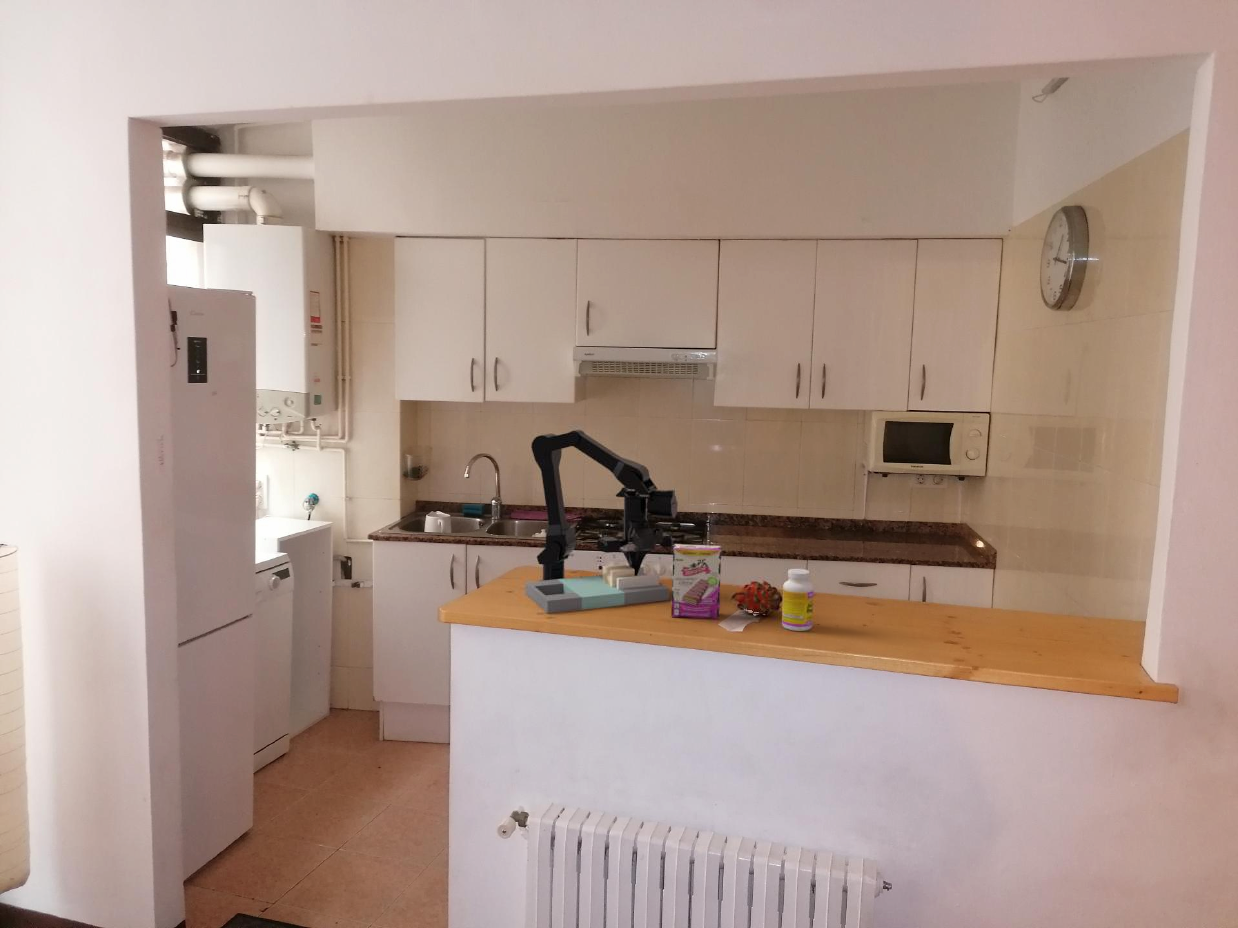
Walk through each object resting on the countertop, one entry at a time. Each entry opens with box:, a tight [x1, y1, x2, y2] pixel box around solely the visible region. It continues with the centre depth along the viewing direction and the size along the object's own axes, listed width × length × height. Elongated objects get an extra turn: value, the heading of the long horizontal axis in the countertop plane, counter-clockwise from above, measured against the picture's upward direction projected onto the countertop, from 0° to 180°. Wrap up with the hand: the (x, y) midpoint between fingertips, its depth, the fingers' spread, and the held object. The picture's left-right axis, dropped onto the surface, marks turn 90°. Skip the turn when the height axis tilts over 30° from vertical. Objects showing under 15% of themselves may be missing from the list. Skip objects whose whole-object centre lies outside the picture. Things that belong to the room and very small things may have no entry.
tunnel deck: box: [524, 565, 670, 614], centre depth 216 cm, size 18×32×6 cm, turn 113°
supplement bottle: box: [781, 568, 814, 632], centre depth 193 cm, size 7×7×13 cm
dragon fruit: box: [730, 580, 783, 616], centre depth 203 cm, size 8×8×12 cm
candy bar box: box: [670, 543, 722, 620], centre depth 201 cm, size 11×5×16 cm, turn 84°
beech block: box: [602, 563, 635, 587], centre depth 218 cm, size 6×6×4 cm
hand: (634, 575), depth 220 cm, fingers closed
